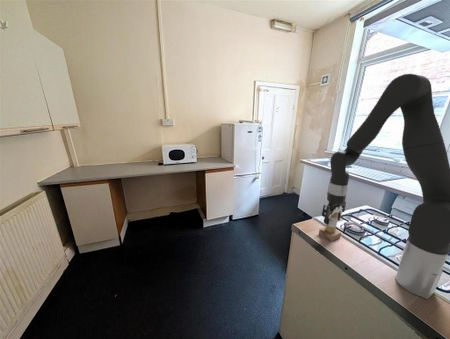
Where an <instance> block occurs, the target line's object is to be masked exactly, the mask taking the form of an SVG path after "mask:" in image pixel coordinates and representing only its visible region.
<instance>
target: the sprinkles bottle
mask: <svg viewBox="0 0 450 339" xmlns="http://www.w3.org/2000/svg"><path fill="white" fill-rule="evenodd" d="M339 211H340V208H337V210H336V211H335V212H334V214H333V215H331V217H330V221H329V224H328V225H327V224H325V226H326V228H325V229H326V231H328V232H330V233H334V232H335V229H336V228H337V224H338V214H339ZM329 212H331V211H330V210H329ZM328 216H329V214H328ZM336 230H337V229H336Z"/></svg>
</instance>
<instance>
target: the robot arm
mask: <svg viewBox="0 0 450 339" xmlns="http://www.w3.org/2000/svg"><path fill="white" fill-rule="evenodd" d="M432 91H433V90H432V83H431V81H430V79H428V77H426V76H423V75H420V74H417V73H403V74H400V75H398V76H397V77H395V78H393V79H392V80H391V81H390V82H389V84H388V85H387V86H386V88H385V89H384V90H383V93H382V94H381V95H380V97H379V98H378V100H377V102H376V104H374V105H373V106H374V107H373V108H372V109H371V111H370V112H369V114H368V115H367V117H366V118H365V119H364V121H363V122H362V123H361V125H360V126H359V127H358V128H357V130H356V131H354V133H353V134H352V135H351V136H350V137H349V139H348V140H347V141H346V146H347V147H346V148H345V149H344V150H343V151H342V150H341V151H336V152H334V153H333V154H332V155H331V158H330V162H329V163H330V171H331V172H330V173H331V176H330V182H329V185H328V191H327V197H326V200H327V202H328V204H327V205H326V204H323V208H322V212H321V217H322V218H323V217H324V220H323V223H324V224H325V225H326V224H327V225H328V224H329V221H330V217H331V215H333V214H334V212H335V211H336V210H337V208H340V211H339V214H338V220H337V222H338V221H340V220H341V215H342V214H343V213H345V211H346V204H347V201H346V199H347V198H346V197H347V194H348V184H349V180H350V174H349V172H348V171H347V170H346V167H349V166H352V165H353V164H354V163H356V161H357V160H358V159H359V158H360V157H361V156H362V153H363V151H364V150H365V149H366V148H367V147H369V145H370V144H372V142H373V141H374V140H375V139H376V138H377V137H378V135H379V133H380V132H381V130H382V129H383V127H384V125H385V123H386V122H387V120H388V119H389V118H390V117H391V116H392V115H393V114H394V113H395V112H396V111H398V109H400V111H401V114H402V116H403V131H402V140H401V146H402V151H403V154H404V158H405V159H404V160H405V162H406V165H407V166H408V168H409V170H410V171H411V172H412V174H413V176H414V177H415V178H416V179H417V181H418V183H419V186H420V189H421V194H422V201H423V202H422V203H420V204H418V205H417V206H416V207H415V208H414V210H413V212H412V214H411V215H412V216H411V218H410V222H409V225H408V231H407V233H408V237H407V241H406V243H405V246H404V249H403V253H402V255H401V259H400V262H399V265H398V269H397V271H396V274H395V281H396V283H398V285H399V286H401V287H402V288H403V289H404V290H406V291H408V292H409V293H411V294H414V295H416V296H417V297H418V296H419V297H421V298H423V299H425V300H428V299H429V298H431V296H432V295H433V294H434V293H435V291H436V290H437V286H438V284H439V282H440V280H441V277H442V275H443V272H444V270H443V269H444V265H445V263H446V260H447V258H448V255H449V253H450V161H449V158H448V157H449V156H448V153H447V152H448V151H447V149H446V145H445V140H444V138H443V135H442V131H441V128H440V125H439V122H438V119H437V117H436V114H435V109H434V104H433V103H434V102H433V92H432ZM329 210H330V211H331V212H329ZM328 214H329V216H328Z"/></svg>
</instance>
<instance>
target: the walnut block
mask: <svg viewBox="0 0 450 339" xmlns="http://www.w3.org/2000/svg"><path fill="white" fill-rule="evenodd" d="M325 228H326V225H325V226H323V227H321V228H319V231H318V234H319V235H320V236H322V238H325V239H327V240H328V241H330V242H333V241H336V240H338V239H340V238H341V236H342V232H341V231H339V230H338V229H335V232H334V233H330V232H328V231H326V229H325Z"/></svg>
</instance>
